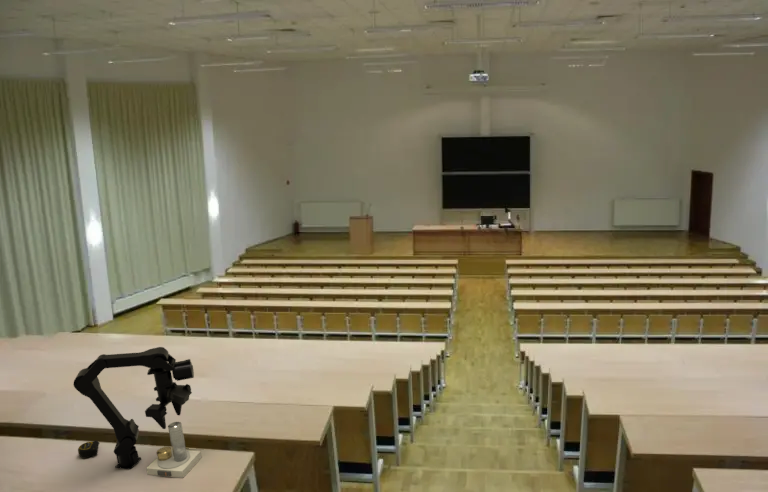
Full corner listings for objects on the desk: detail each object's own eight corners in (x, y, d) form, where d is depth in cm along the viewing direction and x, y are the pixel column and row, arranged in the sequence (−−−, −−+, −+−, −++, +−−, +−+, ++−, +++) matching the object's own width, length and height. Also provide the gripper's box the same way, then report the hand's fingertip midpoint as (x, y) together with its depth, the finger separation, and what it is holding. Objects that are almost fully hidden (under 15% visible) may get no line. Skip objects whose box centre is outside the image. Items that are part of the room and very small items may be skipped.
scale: (146, 475, 206) (145, 467, 205) (167, 454, 218) (166, 446, 217) (182, 478, 202) (180, 470, 202) (201, 457, 214) (200, 449, 213)
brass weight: (155, 460, 209) (153, 454, 208) (163, 452, 213) (161, 446, 213) (166, 461, 207) (165, 455, 207) (174, 453, 212) (173, 447, 211)
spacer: (171, 461, 207) (165, 428, 204) (178, 454, 211) (172, 421, 208) (182, 462, 206) (176, 428, 203) (189, 454, 210) (183, 422, 207)
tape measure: (98, 457, 220) (96, 448, 219) (77, 461, 218) (75, 452, 217) (100, 447, 226) (98, 438, 226) (80, 451, 224) (79, 442, 224)
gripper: (168, 396, 200) (176, 437, 204) (198, 371, 217) (205, 409, 221) (140, 395, 203) (148, 435, 206) (171, 370, 220) (178, 408, 224)
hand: (171, 421), depth 214 cm, fingers open, 9 cm apart
